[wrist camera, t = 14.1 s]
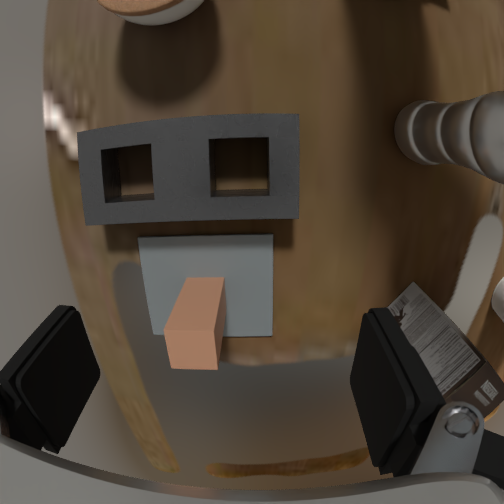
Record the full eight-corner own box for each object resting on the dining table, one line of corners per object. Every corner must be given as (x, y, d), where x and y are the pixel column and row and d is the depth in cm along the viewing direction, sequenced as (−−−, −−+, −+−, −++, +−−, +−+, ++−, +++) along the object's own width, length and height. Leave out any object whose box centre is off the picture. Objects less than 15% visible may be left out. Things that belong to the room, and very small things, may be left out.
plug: (224, 277, 33) (213, 330, 24) (226, 310, 34) (217, 369, 25) (186, 277, 33) (163, 329, 24) (190, 310, 34) (171, 368, 25)
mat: (272, 233, 32) (273, 234, 31) (272, 333, 36) (272, 335, 35) (138, 236, 32) (137, 237, 32) (154, 332, 36) (153, 334, 36)
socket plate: (292, 117, 28) (298, 114, 24) (293, 209, 31) (298, 218, 27) (96, 132, 28) (77, 132, 24) (102, 215, 31) (85, 225, 27)
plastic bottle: (448, 138, 28) (595, 160, 9) (410, 175, 30) (556, 227, 11) (415, 90, 26) (563, 67, 8) (374, 127, 28) (521, 125, 9)
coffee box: (446, 317, 36) (511, 394, 20) (412, 350, 37) (465, 436, 22) (413, 278, 34) (490, 360, 18) (375, 316, 35) (431, 413, 20)
